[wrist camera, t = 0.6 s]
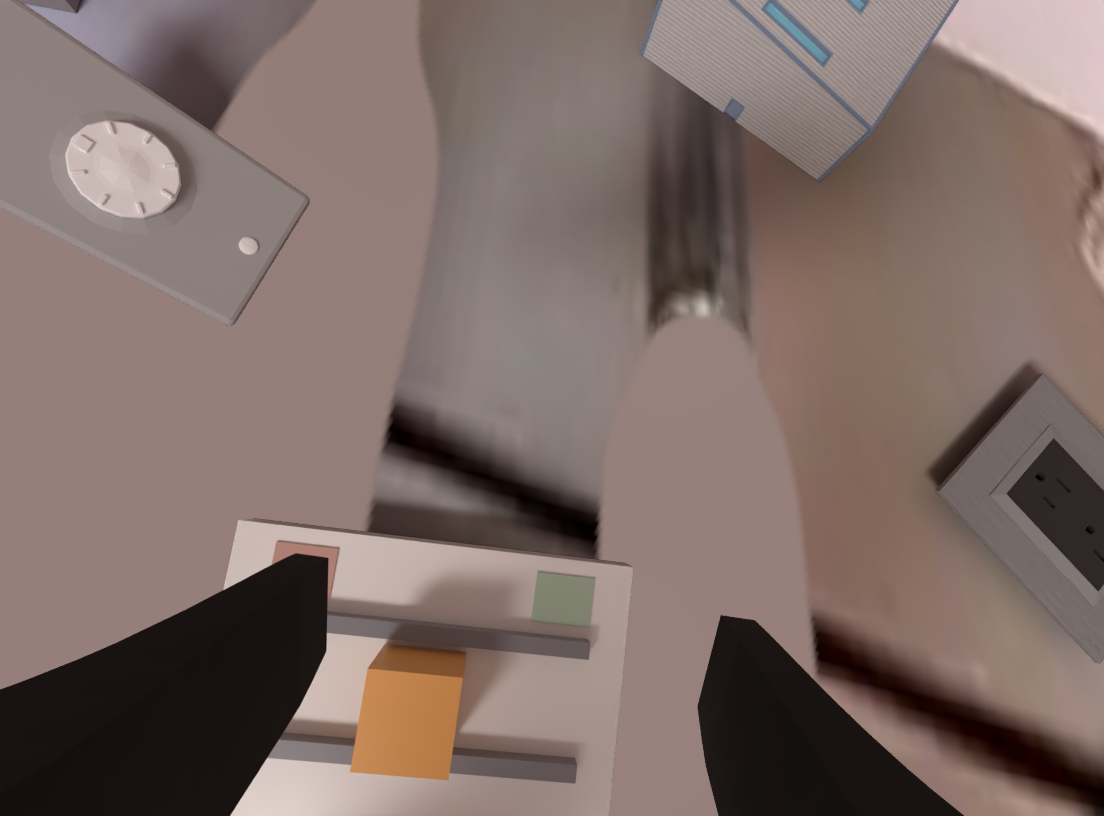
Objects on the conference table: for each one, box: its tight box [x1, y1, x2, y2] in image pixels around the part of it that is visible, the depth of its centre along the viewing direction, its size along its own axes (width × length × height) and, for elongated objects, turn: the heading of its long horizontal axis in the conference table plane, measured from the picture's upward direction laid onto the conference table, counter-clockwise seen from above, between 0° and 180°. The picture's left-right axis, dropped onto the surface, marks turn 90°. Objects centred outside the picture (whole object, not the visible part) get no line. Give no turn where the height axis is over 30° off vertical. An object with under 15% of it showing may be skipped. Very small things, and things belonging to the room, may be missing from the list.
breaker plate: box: [224, 518, 633, 816], centre depth 28 cm, size 14×20×3 cm
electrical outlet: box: [935, 374, 1104, 664], centre depth 34 cm, size 13×10×2 cm
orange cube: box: [350, 644, 467, 780], centre depth 25 cm, size 4×4×4 cm
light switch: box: [0, 0, 309, 326], centre depth 29 cm, size 8×6×14 cm
